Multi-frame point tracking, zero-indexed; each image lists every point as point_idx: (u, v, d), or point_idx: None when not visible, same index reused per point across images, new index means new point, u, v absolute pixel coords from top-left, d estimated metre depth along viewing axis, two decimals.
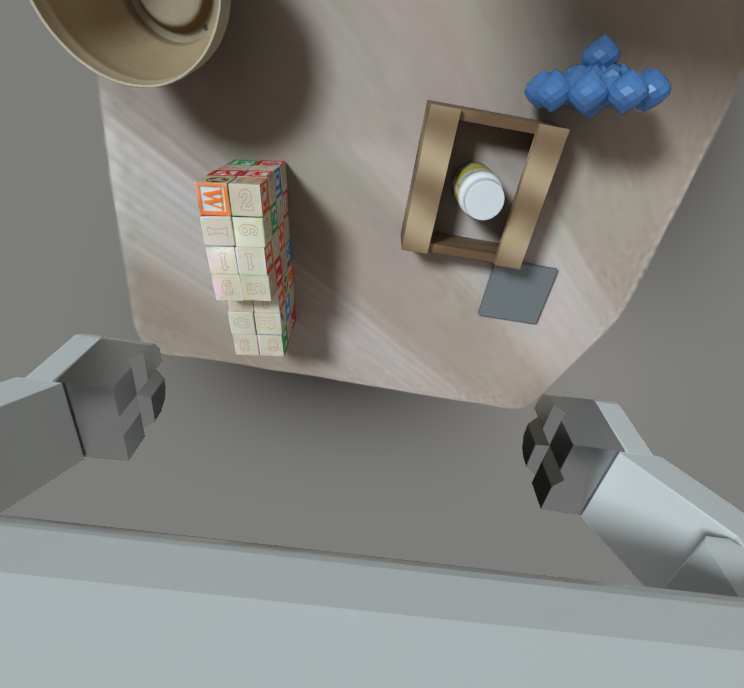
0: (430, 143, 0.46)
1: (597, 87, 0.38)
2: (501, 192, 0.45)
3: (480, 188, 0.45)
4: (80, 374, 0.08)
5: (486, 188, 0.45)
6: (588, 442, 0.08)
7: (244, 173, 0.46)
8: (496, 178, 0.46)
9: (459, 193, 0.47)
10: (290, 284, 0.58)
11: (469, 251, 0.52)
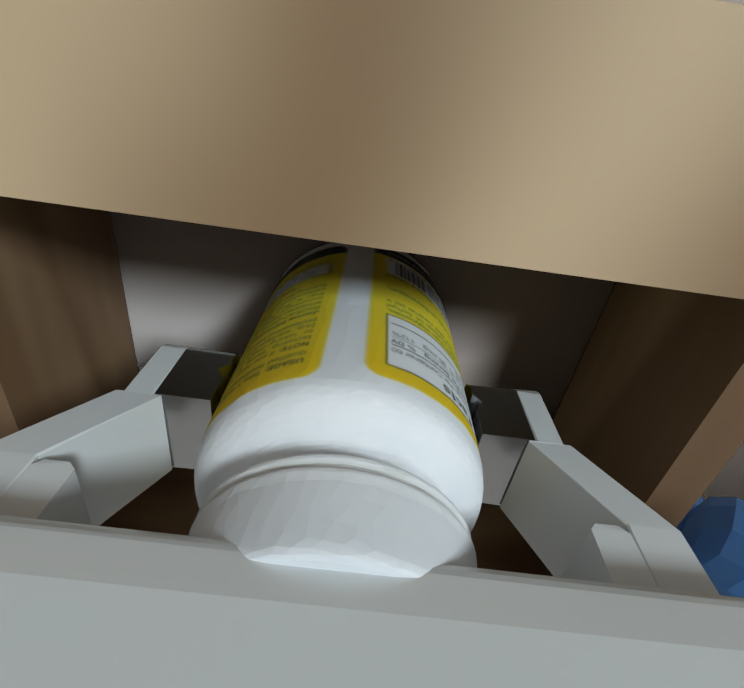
0: None
1: None
2: None
3: None
4: (175, 386, 0.08)
5: None
6: (499, 431, 0.08)
7: None
8: None
9: (342, 388, 0.06)
10: None
11: (10, 422, 0.09)
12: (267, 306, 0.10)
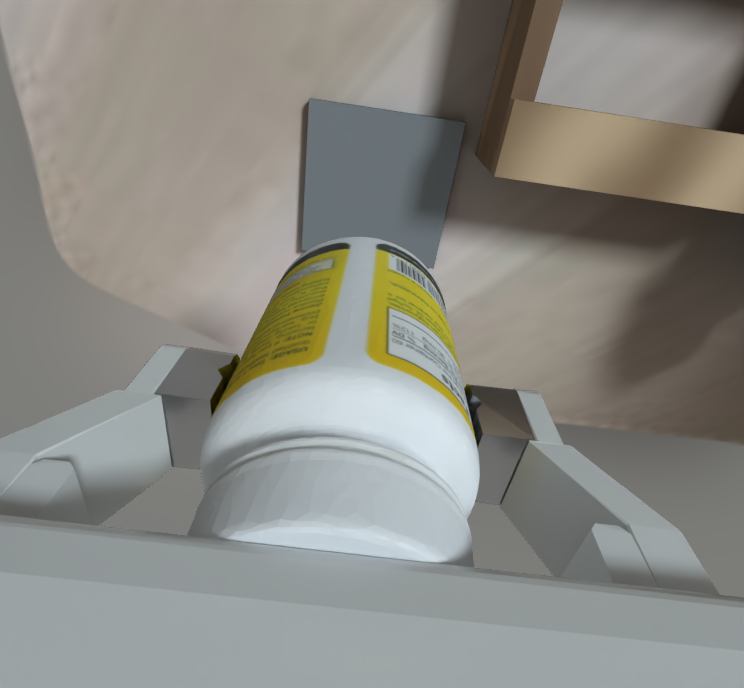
0: None
1: None
2: None
3: None
4: (176, 386, 0.08)
5: None
6: (499, 431, 0.08)
7: None
8: None
9: (344, 375, 0.06)
10: None
11: (557, 10, 0.17)
12: (271, 300, 0.10)
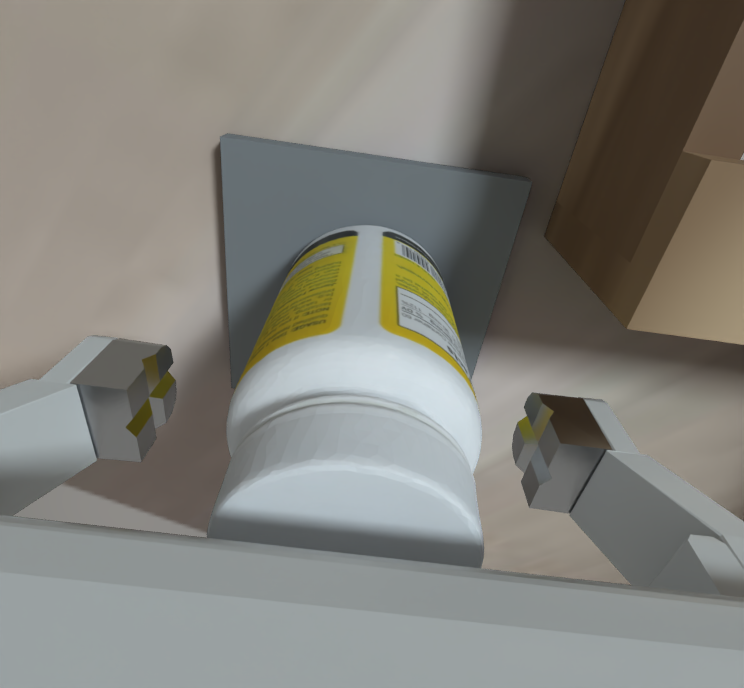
0: None
1: None
2: None
3: (434, 538, 0.06)
4: (94, 375, 0.08)
5: None
6: (575, 440, 0.08)
7: None
8: None
9: (361, 343, 0.07)
10: None
11: None
12: (284, 283, 0.11)
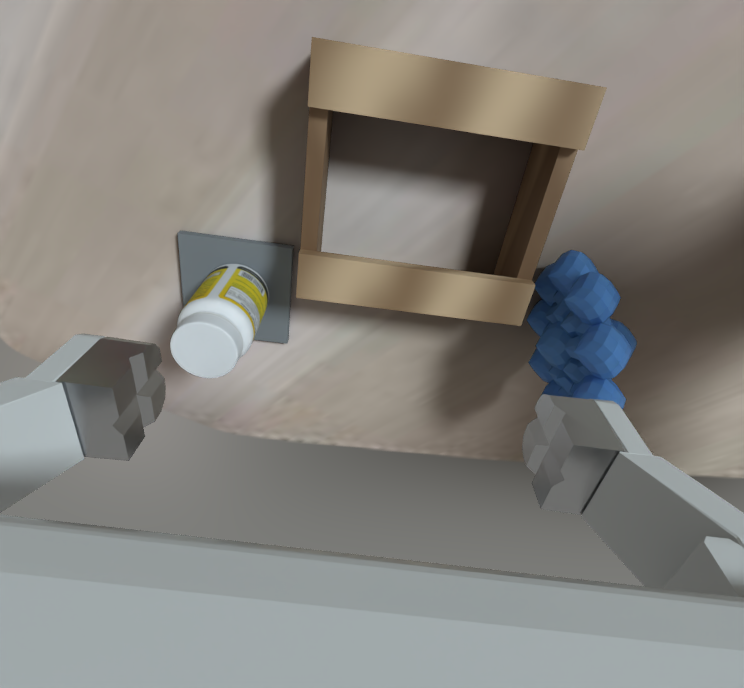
0: (536, 92, 0.23)
1: (621, 366, 0.25)
2: (223, 372, 0.27)
3: (222, 342, 0.26)
4: (80, 374, 0.08)
5: (224, 351, 0.27)
6: (588, 442, 0.08)
7: None
8: (245, 351, 0.29)
9: (211, 300, 0.27)
10: None
11: (318, 200, 0.26)
12: None
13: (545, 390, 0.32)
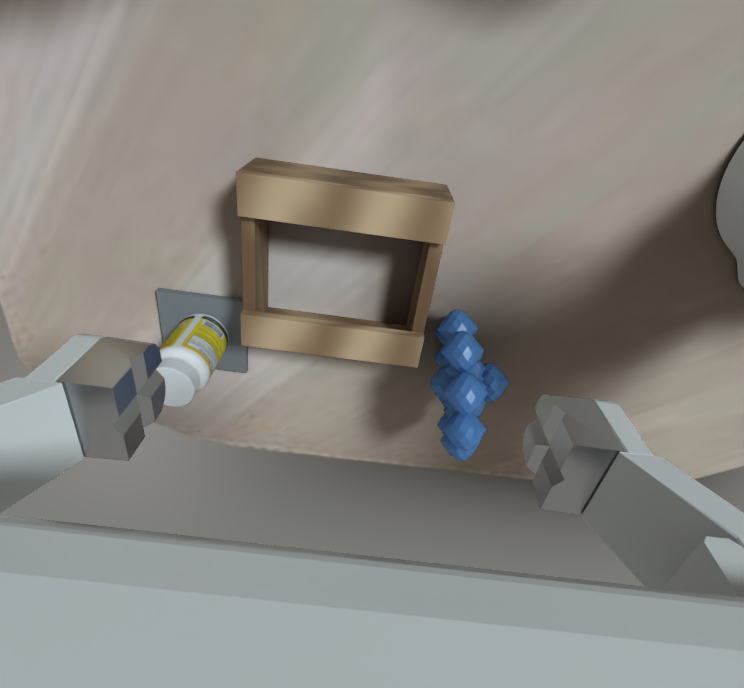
0: (403, 206, 0.31)
1: (474, 406, 0.33)
2: (184, 403, 0.36)
3: (182, 382, 0.35)
4: (80, 374, 0.08)
5: (184, 388, 0.36)
6: (588, 442, 0.08)
7: None
8: (203, 385, 0.38)
9: (175, 348, 0.36)
10: None
11: (253, 276, 0.35)
12: None
13: (442, 416, 0.40)
